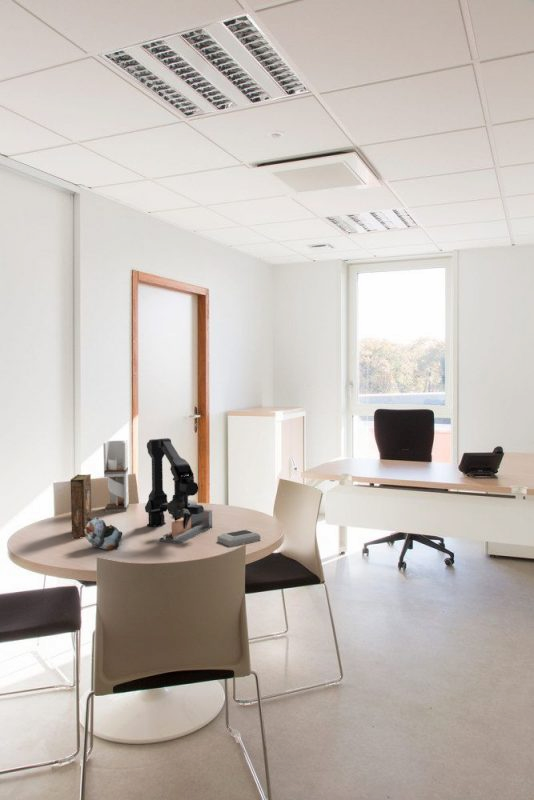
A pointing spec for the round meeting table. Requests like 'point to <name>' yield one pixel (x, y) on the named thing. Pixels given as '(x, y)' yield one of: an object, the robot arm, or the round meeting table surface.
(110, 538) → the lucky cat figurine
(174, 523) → the tan flat rectangular block
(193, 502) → the ceramic mug
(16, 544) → the round meeting table surface
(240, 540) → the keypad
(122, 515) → the round meeting table surface
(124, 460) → the grey shelving unit
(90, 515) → the book
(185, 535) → the track base
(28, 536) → the round meeting table surface
